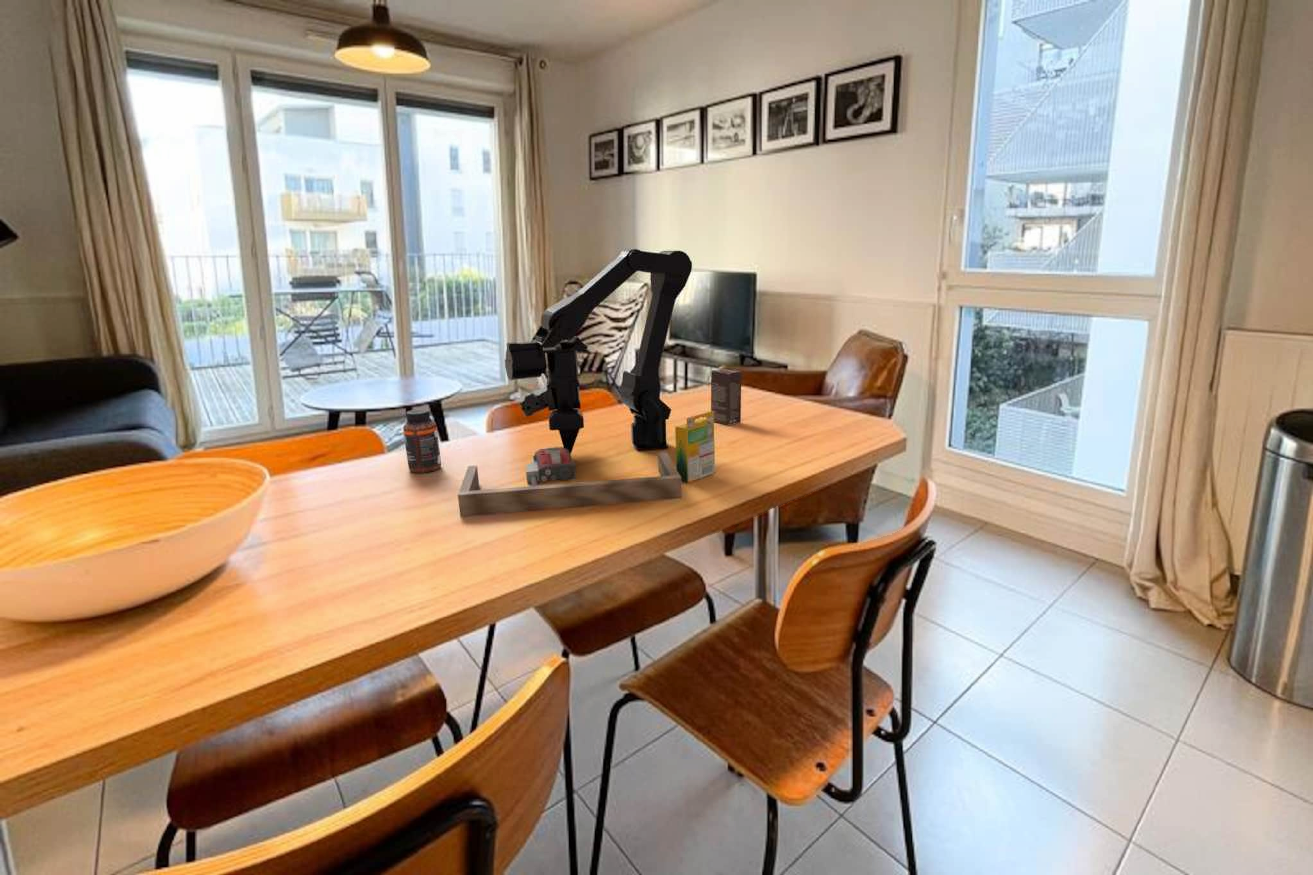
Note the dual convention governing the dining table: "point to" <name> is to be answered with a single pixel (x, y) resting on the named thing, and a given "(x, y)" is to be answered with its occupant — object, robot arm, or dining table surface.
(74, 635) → the dining table surface
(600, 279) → the robot arm
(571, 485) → the brown shallow tray
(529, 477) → the walkie-talkie
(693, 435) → the crayon box
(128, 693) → the dining table surface
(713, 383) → the box
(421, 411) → the supplement bottle
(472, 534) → the dining table surface
